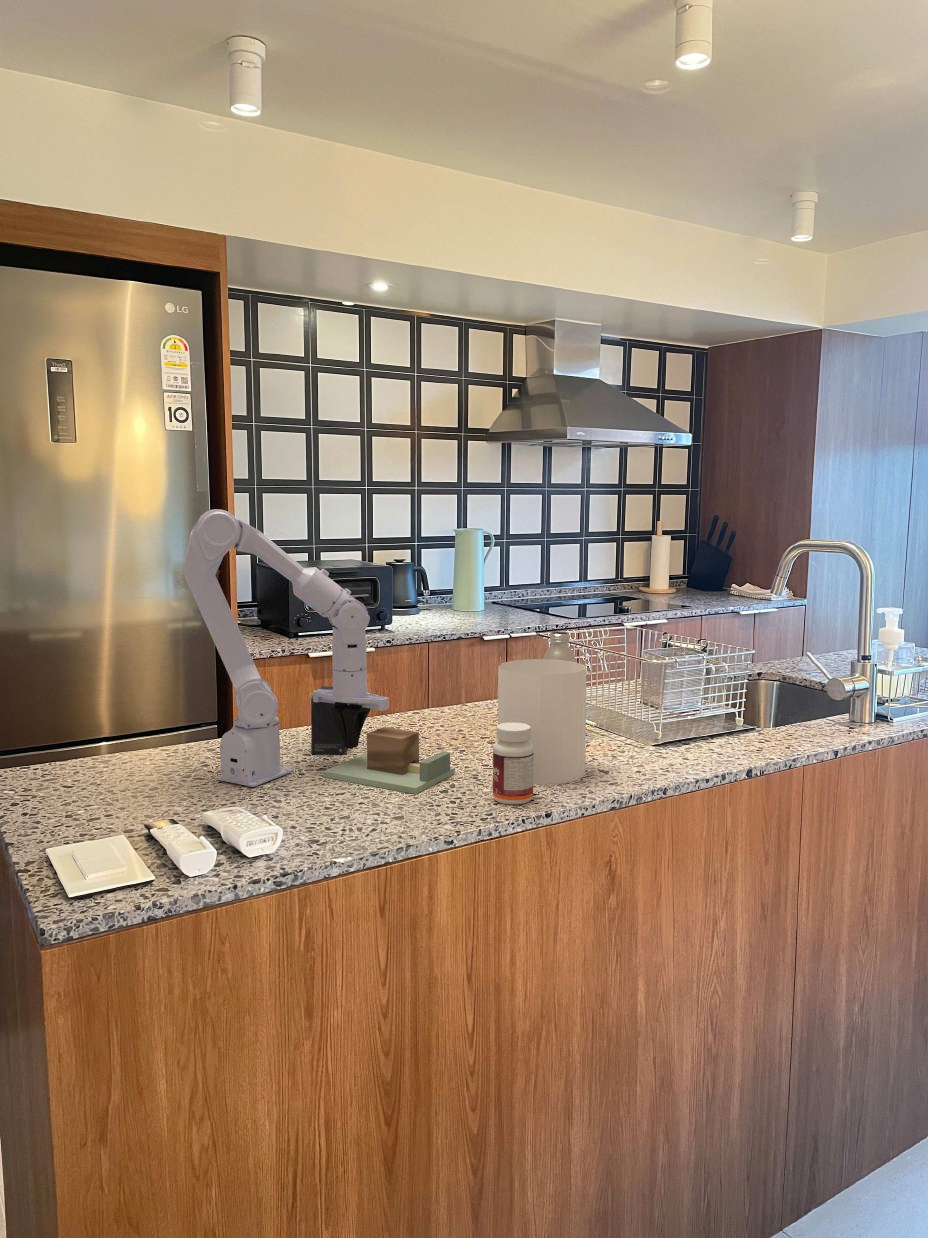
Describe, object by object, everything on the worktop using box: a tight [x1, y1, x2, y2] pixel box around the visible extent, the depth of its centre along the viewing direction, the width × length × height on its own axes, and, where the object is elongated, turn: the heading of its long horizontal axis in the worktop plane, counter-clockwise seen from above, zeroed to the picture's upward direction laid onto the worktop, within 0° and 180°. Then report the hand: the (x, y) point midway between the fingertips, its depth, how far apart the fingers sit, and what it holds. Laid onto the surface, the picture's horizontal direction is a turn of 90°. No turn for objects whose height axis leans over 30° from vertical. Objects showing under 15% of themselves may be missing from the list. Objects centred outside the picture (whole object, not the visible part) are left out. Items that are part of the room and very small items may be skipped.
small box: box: [310, 685, 348, 755], centre depth 162 cm, size 11×6×10 cm, turn 179°
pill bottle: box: [492, 723, 534, 805], centre depth 133 cm, size 6×6×11 cm
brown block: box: [366, 726, 420, 775], centre depth 146 cm, size 5×7×6 cm
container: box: [497, 658, 587, 786], centre depth 147 cm, size 14×14×18 cm
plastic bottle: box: [542, 631, 577, 663], centre depth 170 cm, size 6×7×20 cm
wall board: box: [322, 751, 456, 795], centre depth 145 cm, size 12×18×4 cm, turn 61°
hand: (351, 747), depth 150 cm, fingers closed
